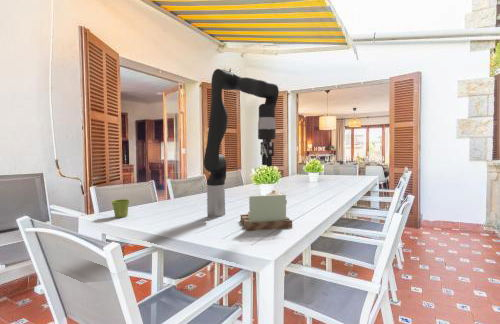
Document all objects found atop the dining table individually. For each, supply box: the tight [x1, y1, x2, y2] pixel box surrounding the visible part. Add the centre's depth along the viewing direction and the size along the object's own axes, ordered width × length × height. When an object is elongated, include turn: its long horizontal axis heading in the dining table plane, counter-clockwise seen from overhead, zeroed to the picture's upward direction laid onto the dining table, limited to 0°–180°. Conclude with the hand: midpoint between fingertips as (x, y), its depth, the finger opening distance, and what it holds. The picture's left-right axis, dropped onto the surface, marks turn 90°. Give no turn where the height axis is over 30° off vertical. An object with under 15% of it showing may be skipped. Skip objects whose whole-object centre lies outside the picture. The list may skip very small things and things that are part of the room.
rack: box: [240, 213, 293, 232], centre depth 136 cm, size 20×18×4 cm
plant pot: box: [110, 198, 131, 219], centre depth 161 cm, size 9×9×9 cm
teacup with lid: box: [266, 189, 288, 205], centre depth 171 cm, size 12×9×12 cm
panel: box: [248, 194, 287, 223], centre depth 130 cm, size 16×1×14 cm, turn 101°
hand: (266, 165), depth 130 cm, fingers open, 8 cm apart
